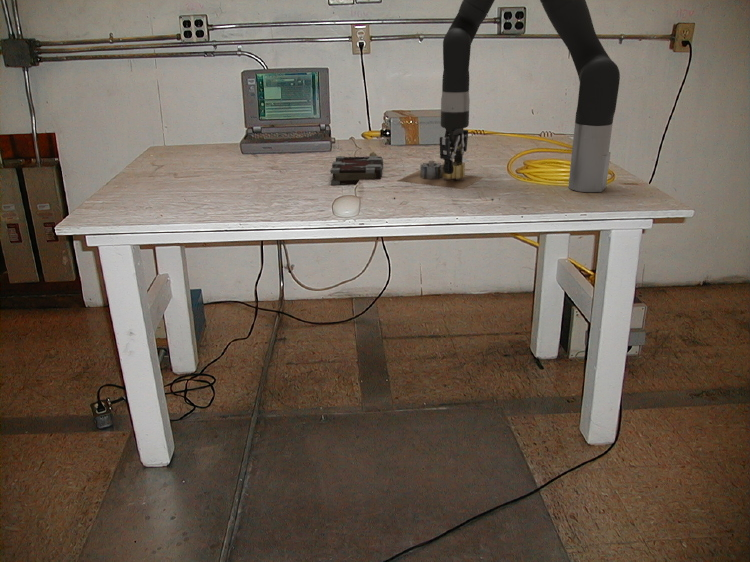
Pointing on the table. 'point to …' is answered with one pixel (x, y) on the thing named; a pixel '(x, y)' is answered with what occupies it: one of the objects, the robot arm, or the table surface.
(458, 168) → the brass gear
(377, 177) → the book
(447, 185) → the gear board
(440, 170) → the steel gear
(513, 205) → the table surface
